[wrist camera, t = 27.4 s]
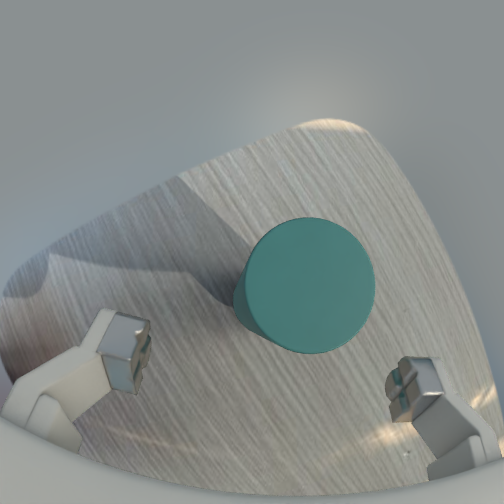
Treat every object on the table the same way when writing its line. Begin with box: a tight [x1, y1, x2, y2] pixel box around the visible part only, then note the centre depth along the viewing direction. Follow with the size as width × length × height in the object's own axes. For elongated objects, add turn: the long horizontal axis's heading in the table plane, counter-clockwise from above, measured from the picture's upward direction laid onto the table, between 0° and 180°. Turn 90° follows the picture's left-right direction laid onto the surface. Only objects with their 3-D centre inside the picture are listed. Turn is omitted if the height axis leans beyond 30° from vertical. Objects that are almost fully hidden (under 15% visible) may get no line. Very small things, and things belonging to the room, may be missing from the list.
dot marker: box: [233, 218, 375, 354], centre depth 13 cm, size 4×4×10 cm
